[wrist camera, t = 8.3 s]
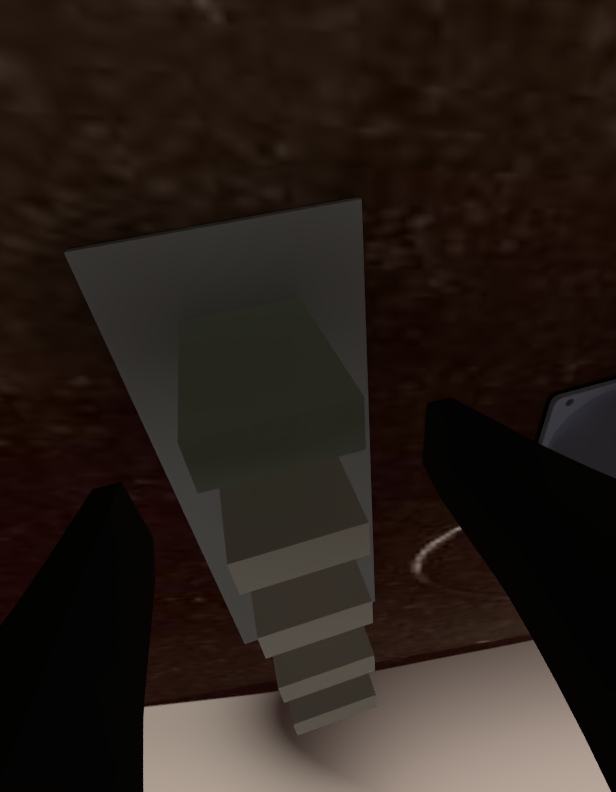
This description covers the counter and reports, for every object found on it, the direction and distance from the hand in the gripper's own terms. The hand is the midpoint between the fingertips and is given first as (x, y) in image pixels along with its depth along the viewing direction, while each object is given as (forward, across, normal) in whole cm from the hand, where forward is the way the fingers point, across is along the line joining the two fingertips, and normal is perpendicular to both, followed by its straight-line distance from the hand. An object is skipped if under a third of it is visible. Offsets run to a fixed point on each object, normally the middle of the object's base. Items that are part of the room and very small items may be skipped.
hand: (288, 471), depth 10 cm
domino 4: (+8, 0, +15) cm, 17 cm away
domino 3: (+8, 0, +10) cm, 13 cm away
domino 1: (+8, 0, 0) cm, 8 cm away
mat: (+8, 0, +10) cm, 13 cm away
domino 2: (+8, 0, +5) cm, 9 cm away
